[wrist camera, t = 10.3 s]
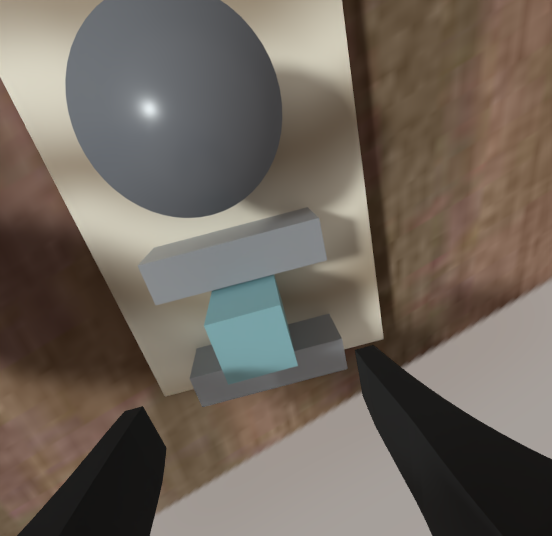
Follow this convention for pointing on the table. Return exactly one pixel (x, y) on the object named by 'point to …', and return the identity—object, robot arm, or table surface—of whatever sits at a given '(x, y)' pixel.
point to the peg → (249, 330)
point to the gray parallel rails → (241, 268)
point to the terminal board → (257, 205)
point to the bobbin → (174, 103)
